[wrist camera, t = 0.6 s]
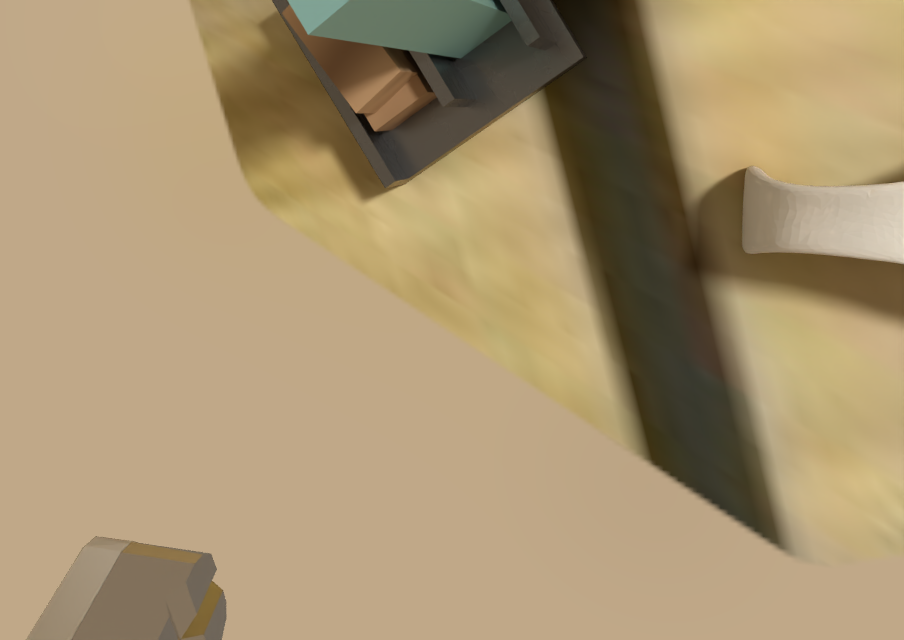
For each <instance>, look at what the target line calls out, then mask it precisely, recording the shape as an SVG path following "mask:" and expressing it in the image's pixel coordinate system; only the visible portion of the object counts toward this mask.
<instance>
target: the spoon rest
mask: <svg viewBox="0 0 904 640" xmlns="http://www.w3.org/2000/svg"><path fill="white" fill-rule="evenodd" d="M742 247H743V250H744V251H745V252H746V253H749V254H758V253H774V252H782V253H807V254H819V255H830V256H841V257H851V258H859V259H868V260H877V261H886V262H892V263H899V264H904V181H903V182H896V183H887V184H873V185H853V186H808V185H797V184H791V183H785V182H781V181H778V180H774V179H772V178H770V177H769V176H768V175H767V174H766V173H765V172H764V171H763V170H761V169H760V168H758V167H755V166H750V167H748V168H747V170H746V173H745V184H744V197H743V220H742Z"/></svg>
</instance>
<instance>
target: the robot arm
mask: <svg viewBox="0 0 904 640" xmlns="http://www.w3.org/2000/svg"><path fill="white" fill-rule="evenodd" d="M216 570H217V569H216V566H215V563H214V560H213V558H212V555H211V554H209V553H203V552H196V551H189V550H182V549H176V548H169V547H162V546H155V545H149V544H142V543H137V542H134V541H126V540H119V539H112V538H104V537H97V536H96V537H95V538H93V539H92V540H91V541H90V542H89V543H88V544H87V545H86V546H84V547H83V549H82V550H81V552H80V553H79V555H78V557H77V558H76V560H75V561H74V563H73V565H72V566H71V568H70V569H69V571H68V573H67V574H66V576H65V577H64V579H63V581H62V582H61V584H60V586H59V587H58V589H57V590H56V592H55V594H54V595H53V597H52V599H51V600H50V602H49V603H48V605H47V607H46V608H45V610H44V612H43V613H42V615H41V616H40V618H39V620H38V621H37V623H36V624H35V626H34V628H33V629H32V631H31V632H30V634H29V636H28V638H27V639H26V640H222V636H223V631H224V626H225V621H226V599H225V596H224V592H223V590H222V589H221V588H220V587H218V585H216V584H215V583H214V582H213V581H212V579H213V576H214V574H215V572H216Z"/></svg>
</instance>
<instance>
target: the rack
mask: <svg viewBox="0 0 904 640" xmlns="http://www.w3.org/2000/svg"><path fill="white" fill-rule="evenodd" d="M272 1H273V3H274V5H275V6H276V8H277V10H278V11H279V13H280V15H281V16H282V18H283V20H284V21H285V23H286V25H287V26H288V28H289V30H290V31H291V33H292V34H293V36H294V38H295V39H296V41H297V43H298V44H299V46H300V48H301V49H302V51H303V53H304V54H305V56H306V58H307V59H308V61H309V63H310V64H311V66H312V68H313V69H314V71H315V73H316V74H317V76H318V78H319V79H320V81H321V83H322V84H323V86H324V88H325V89H326V91H327V92H328V94H329V96H330V97H331V99H332V101H333V102H334V104H335V106H336V107H337V109H338V111H339V112H340V114H341V116H342V117H343V119H344V121H345V122H346V124H347V126H348V127H349V129H350V131H351V132H352V134H353V136H354V137H355V139H356V141H357V142H358V144H359V146H360V147H361V149H362V151H363V152H364V154H365V155H366V157H367V159H368V160H369V162H370V164H371V165H372V167H373V169H374V170H375V172H376V174H377V175H378V177H379V179H380V180H381V182H382V184H383V185H384V187H385V188H389V187H394V186H399V185H403V184H406V183H407V182H409V181H410V180H412V179H413V178H414V177H416V176H417V175H419V174H420V173H422V172H423V171H425V170H426V169H427V168H429V167H430V166H432V165H433V164H435V163H436V162H438V161H439V160H440V159H442V158H443V157H445V156H446V155H448V154H449V153H451V152H452V151H453V150H455V149H456V148H458V147H459V146H461V145H462V144H463V143H465V142H466V141H468V140H469V139H471V138H472V137H474V136H475V135H476V134H478V133H479V132H481V131H482V130H484V129H485V128H487V127H488V126H489V125H491V124H492V123H494V122H495V121H497V120H498V119H500V118H501V117H502V116H504V115H505V114H507V113H508V112H510V111H511V110H513V109H514V108H515V107H517V106H518V105H520V104H521V103H523V102H524V101H525V100H527V99H528V98H530V97H531V96H533V95H534V94H536V93H537V92H538V91H540V90H541V89H543V88H544V87H546V86H547V85H549V84H550V83H551V82H553V81H554V80H556V79H557V78H559V77H560V76H562V75H563V74H564V73H566V72H567V71H569V70H570V69H572V68H573V67H574V66H576V65H577V64H579V63H580V62H582V61H583V60H585V59H586V58H587V57H586V55H585V54H584V52H583V50H582V49H581V47H580V45H579V44H578V42H577V40H576V39H575V37H574V35H573V34H572V32H571V30H570V28H569V27H568V25H567V23H566V22H565V20H564V18H563V17H562V15H561V13H560V12H559V10H558V8H557V7H556V5H555V3H554V2H553V0H500V2H501V3H502V5H503V7H504V8H505V10H506V12H507V13H508V15H509V17H510V18H511V20H512V21H510V22H509V23H508V24H506V25H505V26H504V27H502V28H501V29H500V30H498V31H497V32H496V33H494V34H493V35H492V36H490V37H489V38H488V39H486V40H485V41H484V42H482V43H481V44H480V45H478V46H477V47H476V48H474V49H473V50H472V51H470V52H469V53H468V54H466V55H465V56H463V57H462V58H455V57H448V56H442V55H435V54H429V53H422V52H416V51H409V52H410V53H411V55H412V57H413V58H414V60H415V62H416V63H417V65H418V67H419V68H420V70H421V72H422V73H423V75H424V76H425V78H426V80H427V81H428V83H429V85H430V86H431V88H432V90H433V91H434V93H435V95H436V96H437V98H435V99H434V100H433V101H431V102H430V103H428V104H427V105H426V106H424V107H423V108H422V109H420V110H419V111H418V112H416V113H415V114H413V115H412V116H411V117H409V118H408V119H407V120H405V121H404V122H403V123H401V124H400V125H398V126H397V127H396V128H394V129H393V130H389V131H374V130H373V128H372V126H371V125H370V123H369V121H368V120H367V118H366V116H365V115H364V113H355V111H354V110H353V109H352V107H351V106H350V104H349V103H348V102H347V100H346V99H345V98H344V96H343V95H342V94H341V92H340V91H339V90H338V88H337V87H336V86H335V84H334V83H333V82H332V80H331V79H330V78H329V76H328V75H327V74H326V72H325V71H324V70H323V68H322V67H321V66H320V64H319V63H318V62H317V60H316V59H315V57H314V56H313V55H312V53H311V52H310V51H309V49H308V48H307V47H306V45H305V44H304V43H303V41H302V40H301V39H300V37H299V36H298V35H297V33H296V32H295V31H294V29H293V28H292V27H291V25H290V24H289V23H288V21H287V20H286V19H285V17H284V16H283V14H282V12H283V11H284V10H285V9H286V8H287V7H288V6H289V5H290V4H289V2H288V0H272Z"/></svg>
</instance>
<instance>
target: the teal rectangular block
mask: <svg viewBox="0 0 904 640" xmlns="http://www.w3.org/2000/svg"><path fill="white" fill-rule="evenodd" d="M288 2H289V4H290V5H291V7H292V9H293V10H294V12H295V14H296V15H297V17H298V19H299V20H300V22H301V24H302V25H303V27H304V29H305V30H306V32H307V34H308V35H313V36H319V37H326V38H332V39H339V40H345V41H351V42H358V43H364V44H371V45H377V46H384V47H390V48H397V49H403V50H409V51H416V52H422V53H429V54H435V55H442V56H448V57H455V58H462V57H463V56H465V55H466V54H468V53H469V52H470V51H472V50H473V49H474V48H476V47H477V46H478V45H480V44H481V43H482V42H484V41H485V40H486V39H488V38H489V37H490V36H492V35H493V34H494V33H496V32H497V31H498V30H500V29H501V28H502V27H504V26H505V25H506V24H508V23H509V22H510V21H512V20H511V18H510V17H509V15H508V13H507V12H506V10H505V8H504V7H503V5H502V3H501V2H500V0H288Z"/></svg>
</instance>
